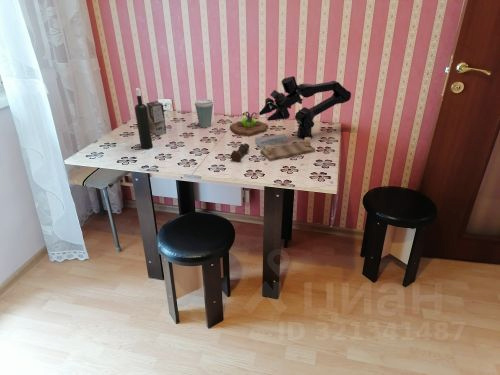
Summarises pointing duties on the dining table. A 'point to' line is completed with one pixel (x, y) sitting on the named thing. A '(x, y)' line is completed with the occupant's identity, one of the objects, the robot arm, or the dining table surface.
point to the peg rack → (287, 150)
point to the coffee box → (156, 118)
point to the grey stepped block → (270, 140)
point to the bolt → (239, 152)
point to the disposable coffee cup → (204, 112)
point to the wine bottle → (143, 123)
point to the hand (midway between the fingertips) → (263, 117)
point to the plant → (248, 126)
